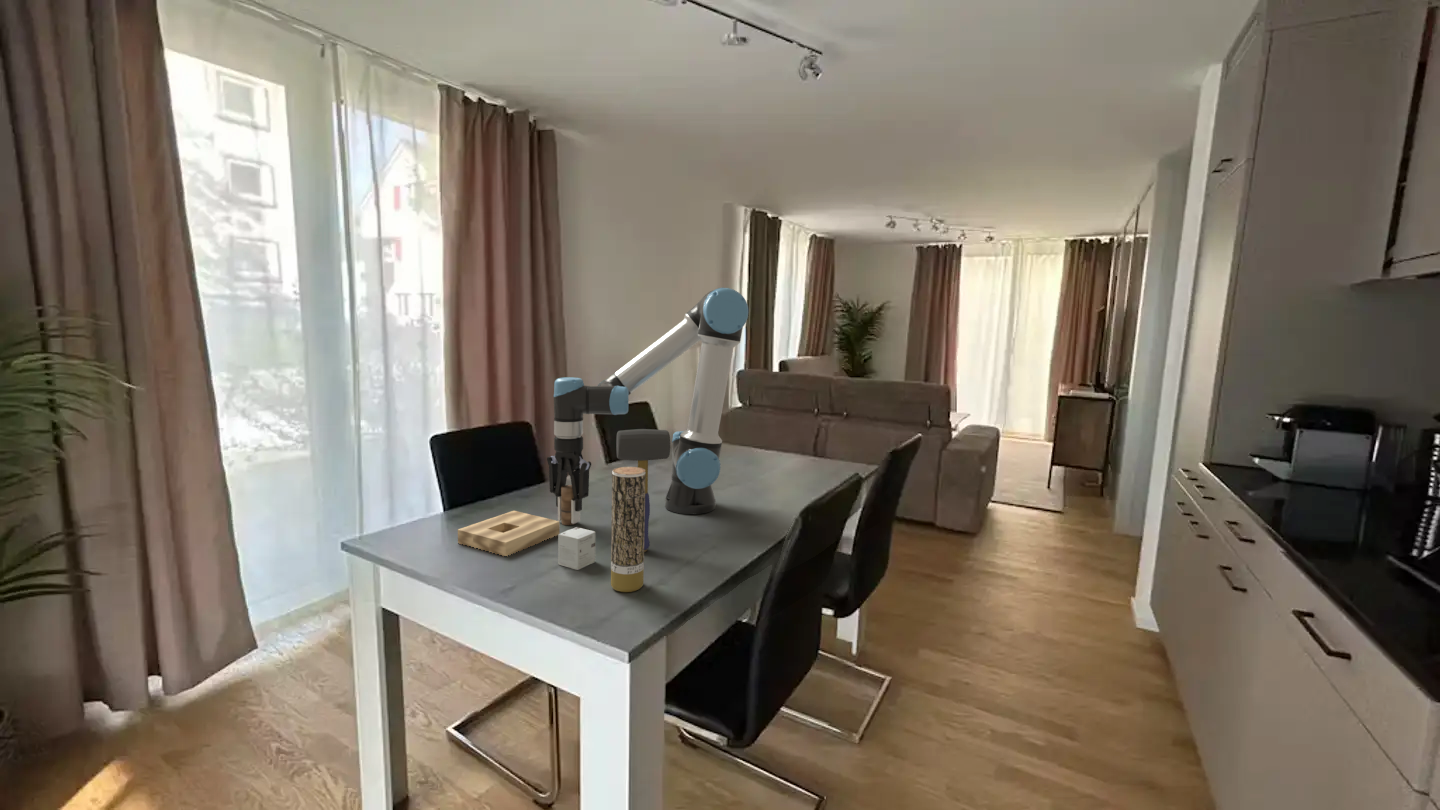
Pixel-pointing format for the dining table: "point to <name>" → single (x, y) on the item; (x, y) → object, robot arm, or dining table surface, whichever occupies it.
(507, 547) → the board
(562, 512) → the peg
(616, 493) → the paper tube
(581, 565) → the skincare box
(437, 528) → the dining table surface
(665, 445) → the rubber mallet
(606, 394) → the robot arm
